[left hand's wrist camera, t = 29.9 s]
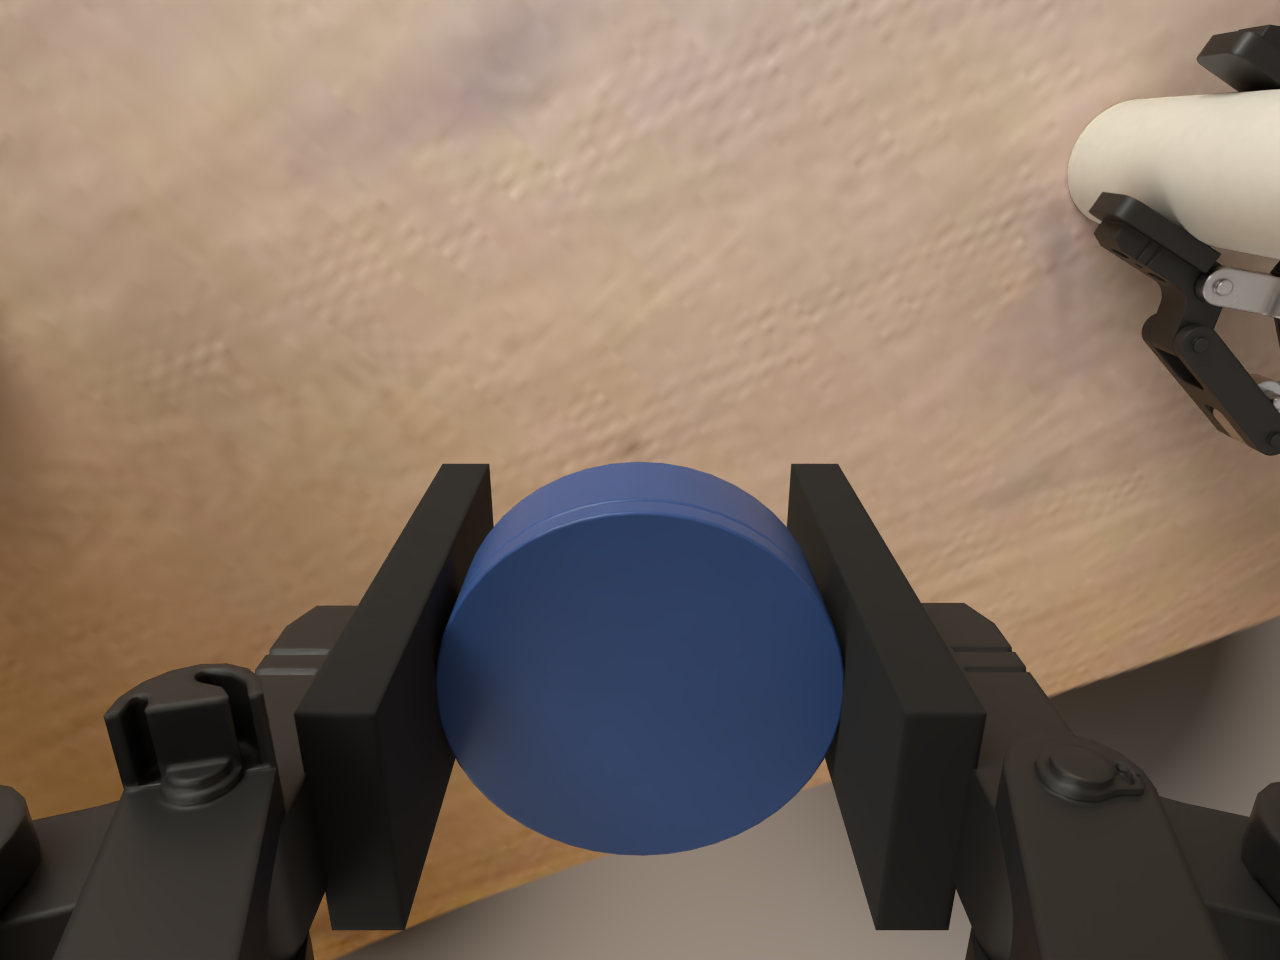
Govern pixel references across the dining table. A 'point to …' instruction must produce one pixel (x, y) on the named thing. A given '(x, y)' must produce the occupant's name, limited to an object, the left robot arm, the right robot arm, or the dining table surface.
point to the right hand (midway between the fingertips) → (1164, 126)
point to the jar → (1190, 165)
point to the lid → (640, 662)
